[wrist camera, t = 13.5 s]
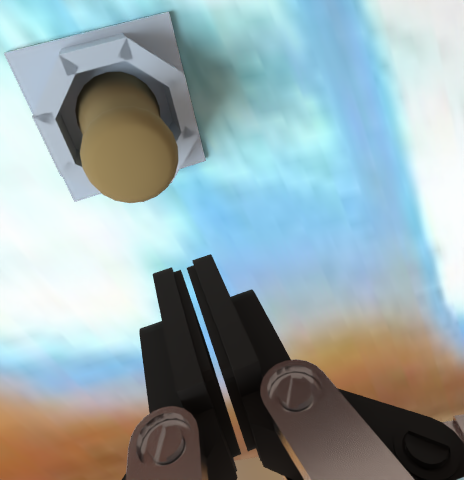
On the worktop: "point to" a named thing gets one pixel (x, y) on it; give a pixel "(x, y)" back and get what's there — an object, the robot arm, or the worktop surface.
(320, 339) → the worktop surface
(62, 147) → the grey octagonal holder
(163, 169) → the cork
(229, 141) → the worktop surface
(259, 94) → the worktop surface
